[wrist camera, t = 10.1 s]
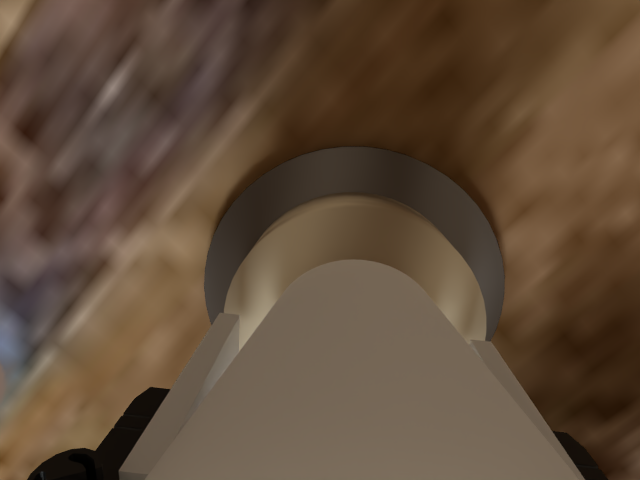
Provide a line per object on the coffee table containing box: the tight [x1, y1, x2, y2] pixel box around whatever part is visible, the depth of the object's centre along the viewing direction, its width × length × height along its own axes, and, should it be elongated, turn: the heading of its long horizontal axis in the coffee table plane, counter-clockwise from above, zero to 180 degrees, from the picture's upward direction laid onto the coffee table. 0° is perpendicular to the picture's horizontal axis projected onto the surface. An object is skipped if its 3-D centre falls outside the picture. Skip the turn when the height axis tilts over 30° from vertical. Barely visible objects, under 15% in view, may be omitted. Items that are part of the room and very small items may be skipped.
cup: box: [145, 259, 579, 480], centre depth 9 cm, size 9×9×12 cm
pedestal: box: [204, 146, 505, 351], centre depth 17 cm, size 15×15×4 cm
